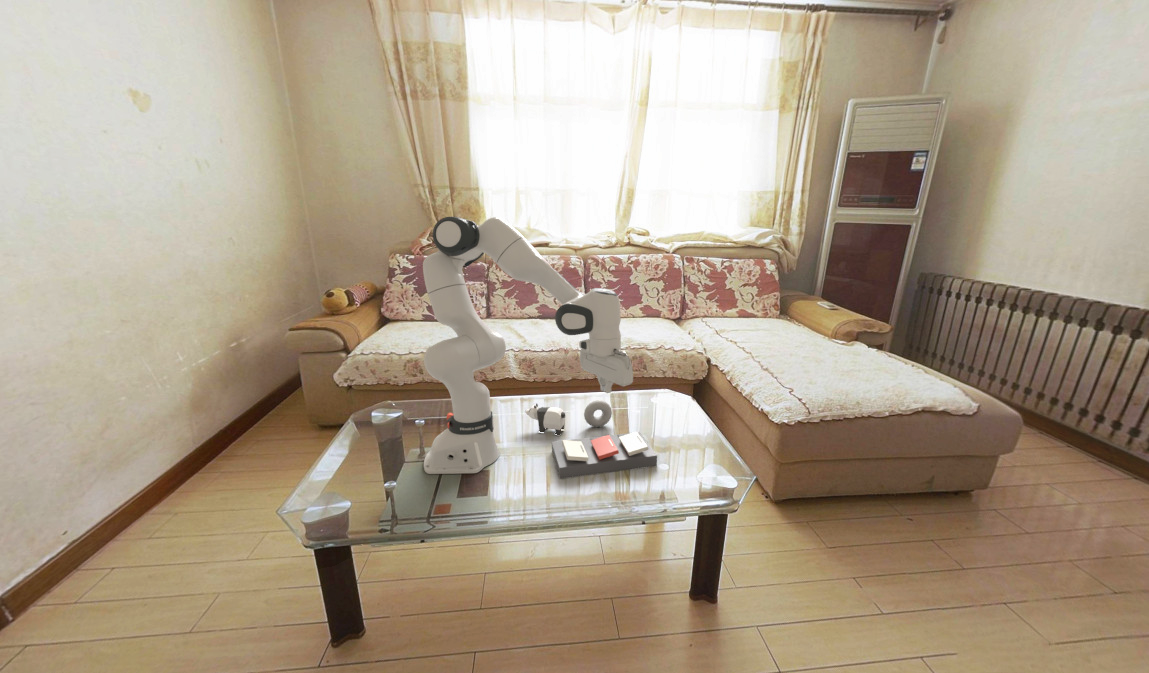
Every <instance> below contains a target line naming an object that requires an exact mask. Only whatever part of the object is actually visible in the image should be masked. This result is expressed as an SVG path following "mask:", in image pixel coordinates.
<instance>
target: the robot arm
mask: <svg viewBox="0 0 1149 673" xmlns="http://www.w3.org/2000/svg"><path fill="white" fill-rule="evenodd" d="M432 239H433V240H432V241H433V243H434V245H435V247H436V248H437V251H436V252H434V253H433V252H432V253H431V254H428V255H427V257H426V258H424V260H423V262H422V271H423V272H422V273H423V279H424V285H425V288H426V293H427V296H428V299H429V302H430V305H431V308H432V312H433V315H434V318H435V319H436V320H437V322H438V323H440V325H444V326H446V327H449V328H451V330H453V331H454V333H455V334H456V335H457V336H456V337H451V338H447V339H444V340H441V341H439V342H437V343H434V344H432V345H431V346H429V347H428V348H427V349H426V351H425V353H424V356H423V364H424V368H425V370H426V372H427V373H428V374H429V376H431V377H432V378H434V379H435V380H437V381H440V382H441V383H442V384H443V385H444V386H445V388H446V389H447V390H448V392H449V393H448V394H449V395H450V401H451V406H452V412H448V413H447V415H446V426H447V428H446V429H444V430H443V431H442V432H441V433H439V434H438V435H437V436H436V437H435V438H434V440H433V442H432V443H431V447H430V450H429V451H428V452H427V453H426V454H425V457H424V461H423V471H424V472H425V473H426V474H428V475H441V474H442V475H446V474H447V475H449V474H456V475H457V474H477V473H479V472H480V471H482V470H483V469H485V467H487V466H489V465H491V464H493V463H495V461H497V460H498V459H499V457H500V451H499V448H498V445H497V443H496V442H497V441H496V438H495V434H494V428H495V425H494V415H493V411H492V409H491V408H492V407H491V396H490V390H489V389H488V386H486V385H485V384H484V383H482V382H480V381H476V380H475V378H474V372H476V371H478V370H481V369H484V368H488V367H491V366H493V365H494V364H495V363H497V362H499V361H500V360H502V359H503V358H504V357H505V356H506V355H505V354H506V351H507V350H506V349H507V344H506V341H505V339H504V337H503V336H502V335H501V333H499V332H498V331H496V330H494V329H492V328H490V327H489V326H488V325H487V324H486V323H485V322H484V321H483V319H482V318H481V317H480V316H479V314H478V313H477V311H476V309H475V307H474V304H473V302H472V299H471V297H470V293H469V290H468V286H467V284H466V281H465V277H464V273H463V269H464V268H467V267H469V266H470V265H472V264H473V263H475V262H476V261H478V260H479V259H481V258H482V257H483V255H484V254H485V255H487V256H488V257H489V258H490V259H491V260H492V261H493V262H494V263H495V264H496V265H497V266H498V267H499V269H501V270H502V271H503V272H504V273H505V274H506V275H508V276H509V277H511V278H512V279H513V280H515V281H520V282H527V283H532V284H536V285H537V286H540V287H542V288H543V289H544V290H546V291H547V292H548V293H549V294H550V295H552V296H553V297H554V298H555V299H556V300H557V301H558V302H559V303H560V304H561V305H560V307H558V309H557V310H556V312H555V316H554V322H555V324H556V326H557V328H558V330H559V331H560V332H561V333H563V334H564V335H567V336H579V335H583V334H588V335H589V336H588V337H589V338H587V339H583V340H580V341H579V348H580V350H579V357H580V358H579V361H580V362H579V363H580V368H582V369H581V370H583V371H585V372H588V373H590V374H592V375H595V376H597V381H598V384H599V385H600V388H599V389H600V391H601V392H603V393H606V394H610V393H612V387H613V385H614V384H616V385H618V386H620V387H626V386H629V385H632V383H633V382H634V372H633V364H632V361H631V357H629V355H628V353H627V352H626V351H621V349H622V346H621V345H622V341H621V340H622V339H621V338H622V337H621V336H622V335H621V334H622V333H621V331H620V324H621V305H620V299H619V295H618V294H617V293H616V292H615V291H614V290H612V289H608V288H602V287H601V288H600V287H599V288H598V287H595V288H592V289H591V290H590V291H588V292H587V293H584V292H581V291H580V290H578V289H577V288H576V287H575V286H574V285H572V283H570V282H569V281H568V279H566V278H565V277H564V276H563V275H562V274H561V273H560V272H559V271H557V270H556V269H555V268H554V267H553V266H552V265H551V264H550V263H549V262H548V261H547V260H546V258H544V257H543V256H542V255H541V254H540V252H539V251H538V250H537V249H536V248H535V247H534V246H533V244H531V242H530V241H528V239H527V238H526V237H525V236H524V235H523V234H522V233H521V232H519V231H518V229H516V228H515V227H514V226H512V225H511V224H510V223H509V222H507V221H506V220H504V219H503V218H501V217H498V216H494V217H490V218H488V219H486V220H485V221H484V222H482V224H479V225H477V224H476V222H474V221H472V220H468V219H465V218H463V217H459V216H446V217H443V218H441V219H439V220H438V221H436V223H435V224H434V226H433V229H432Z"/></svg>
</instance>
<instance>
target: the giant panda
mask: <svg viewBox="0 0 1149 673" xmlns="http://www.w3.org/2000/svg"><path fill="white" fill-rule="evenodd" d="M524 412H525V414H526V415H528V417H529V418H530V419H533V420H536V421H537V423H538V431H540V432H544V431H545V432H546V429H545V428H548V429H549V430H555V432H556V433H555V432H554V433H555V434H557V435H560V434H561V435H562V431H561V429H564V430H565V426H566V425H565V424H566V413H565V411H564V410H563V409H562V408H560V407H555V406H553V407H552V406H550V407H547V406H546V407H544V406H541V407H539V404H538V403H537V402H536V403H535V404H533V405H531V407H529V408H528V409H525V411H524ZM548 429H547V430H548ZM557 435H556V436H557ZM561 435H560V436H561Z"/></svg>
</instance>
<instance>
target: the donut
mask: <svg viewBox="0 0 1149 673" xmlns="http://www.w3.org/2000/svg"><path fill="white" fill-rule="evenodd" d="M596 411H601V415H600V416H599V417H596V416H594V414H595V412H596ZM612 415H613V411H612V407H611V406H610V404H609V403H608V402H607V401H605V400H602V399H597V400H593V401H591V402H590V403H589V404H587V406H586V407H585V409H584V413H583V416H584V420H585V422H586V423H587V424H588V425H589V426H591V427H593V426H594V427H593V428H600V427H599V426H601V427H603V426H605V425H607V424H608V423H609V422H610V420H611V418H612Z"/></svg>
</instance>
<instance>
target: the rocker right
mask: <svg viewBox="0 0 1149 673" xmlns="http://www.w3.org/2000/svg"><path fill="white" fill-rule="evenodd" d="M638 432H639V431H634V432H629V433H630V434H627V435H624V436H620V437H619V440H620V442H621V444H622V445H623V447H624V448H625V450H626V452H627V453H628V455H629V456H631V455H634V454H637V453H640V452H643V451H646V450H648V446H647V445H646V443H645V442H644V441H643V439H642V438H641V436H640V435H639V434H638Z"/></svg>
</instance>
